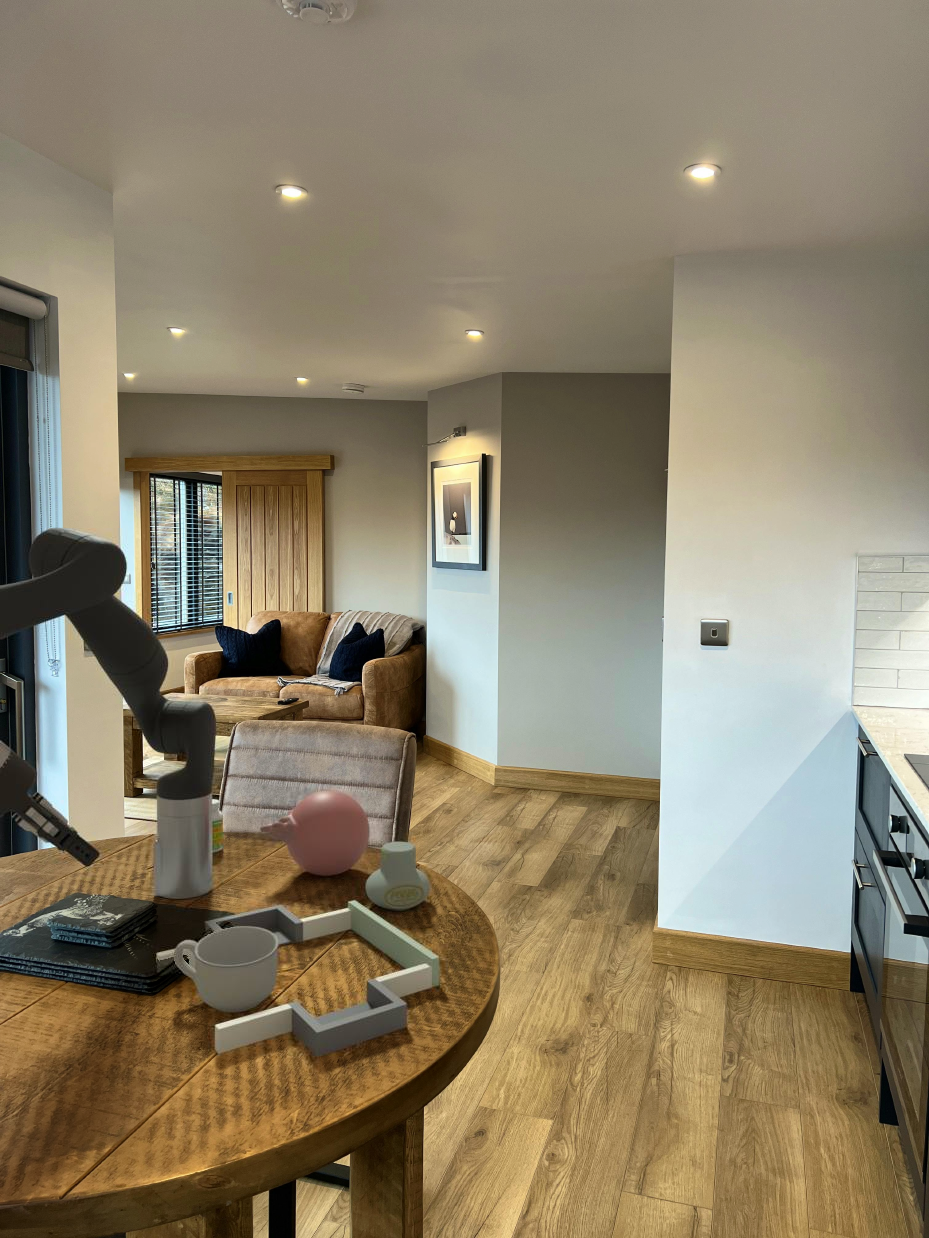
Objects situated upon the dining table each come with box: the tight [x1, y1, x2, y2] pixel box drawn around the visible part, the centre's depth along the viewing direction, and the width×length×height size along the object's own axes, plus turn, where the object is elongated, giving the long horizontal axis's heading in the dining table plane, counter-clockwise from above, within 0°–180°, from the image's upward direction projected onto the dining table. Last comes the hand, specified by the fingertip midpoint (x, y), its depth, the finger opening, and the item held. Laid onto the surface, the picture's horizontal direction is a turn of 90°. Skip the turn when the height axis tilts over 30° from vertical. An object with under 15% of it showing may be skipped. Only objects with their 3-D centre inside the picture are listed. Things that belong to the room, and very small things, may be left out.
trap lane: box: [156, 900, 440, 1058], centre depth 124 cm, size 31×38×4 cm
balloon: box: [259, 789, 371, 877], centre depth 165 cm, size 15×20×15 cm
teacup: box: [174, 926, 280, 1014], centre depth 118 cm, size 14×11×8 cm
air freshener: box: [365, 841, 431, 912], centre depth 152 cm, size 11×8×10 cm
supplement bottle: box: [212, 798, 224, 854], centre depth 179 cm, size 5×5×10 cm
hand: (93, 859), depth 111 cm, fingers closed
